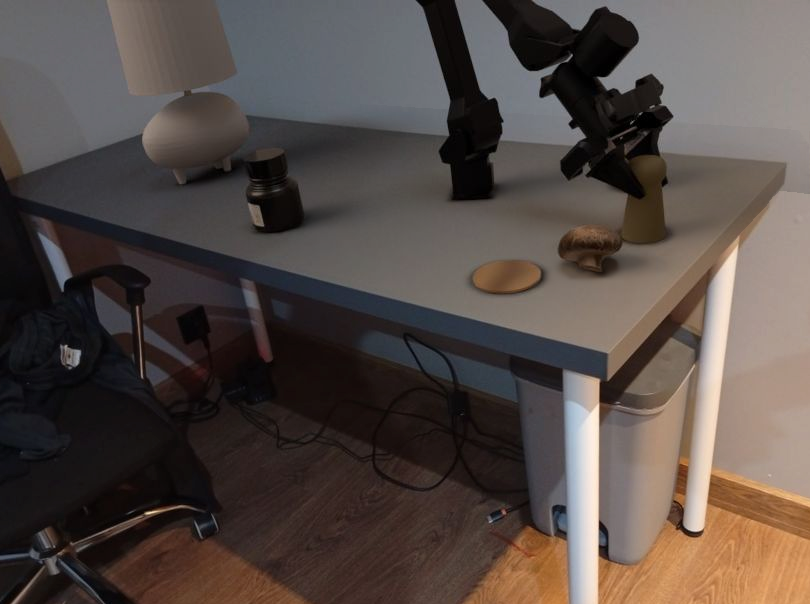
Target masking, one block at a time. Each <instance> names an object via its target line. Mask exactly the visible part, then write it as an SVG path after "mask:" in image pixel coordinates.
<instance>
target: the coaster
mask: <svg viewBox="0 0 810 604" xmlns="http://www.w3.org/2000/svg"><path fill="white" fill-rule="evenodd" d="M541 279H542V271H541V269H540V268H539V267H538V266H537V265H536V264H534V263H532V262H529V261H525V260H514V259H512V260H511V259H509V260H507V259H505V260H499V261H493V262H490V263H488V264H485V265H483V266H480V267H479V268H478V269H477V270H476V271H475V272H474V273H473V275H472V282H473V285H474V287H476V288H477V289H479V290H480V291H482V292H486V293H490V294H499V295H501V294H502V295H507V294H514V293H520V292H524V291H527V290H529V289H531V288H533V287H534V286H536V285H537V284H539V282H540V281H541Z"/></svg>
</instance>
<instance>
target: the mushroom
mask: <svg viewBox="0 0 810 604" xmlns="http://www.w3.org/2000/svg"><path fill="white" fill-rule="evenodd" d="M622 247H623V238H622V236H621V235H619V233H617V232H616V231H615V230H613V229H611V228H608V227H605V226H600V225H591V224H587V225H586V224H585V225H579V226H577V227H574V228H572V229H570V230H569V231H568V232H567V233H565V234H564V235H563V236H562V237H561V239H560V240H559V243H558V247H557V253H558V256H559V257H560V258H561V259H563V260H566V261H574V262H576V263H577V264H578V267H580V268H582V269H585V270H587V271H592V272H597V273H601V272H603V269H602V263H603V260H604V259H606V258H607V257H609V256H611V255H614V254H616V253H617V252H619V251H620V250H621V248H622Z"/></svg>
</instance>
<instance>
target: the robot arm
mask: <svg viewBox="0 0 810 604" xmlns="http://www.w3.org/2000/svg"><path fill="white" fill-rule="evenodd" d="M481 1H482V2H483V3H484V4H485V6H486V7H487V8H488V9H489V10H490V12H492V14H493V15H494V16H495V18H496V19H497V20H498V21H499V23H501V24H502V25H503V27H504V29H505V30H506V32H507V39H508V44H509V46H510V49H511V50H512V52H513V54H514V55H515V57H516V59H517V60H518V62H519V63H520V64H521V66H522V67H523V69H525V71H528V72H540V71H543V70H545V69H548V68H551V67H553V66H556V67H555V69H554V70H553V71H552V72H551V73H549V74H547V75H545V76H542V77H540V87H539V90H538V98H540V99H544V98H546V97H549V96H552V95H554V96H555V97H556V98H557V100H558V101H559V103H560V104H561V105H562V106H563V108H564V109H565V111H566V112H567V113H568V115H569V116H570V117H571V119H570V121H569V122H568V123H567V124H568V126H569V128H570V130H576V129H577V128H579V130H580V131H581V133H582V134H583V135H584V137H585V138H582V139H580V140H578V142H576V143H575V145H574V146H572V147H571V149H570V150H569V151H568V152H567V153H566V154H565V155H564V156H563V157H562V158H561V159H560V160H559V163H560V164H559V165H560V167H559V168H560V172H561V173H562V175H563V176H564V177H565V179H566V180H567V181H568V182H570V181H571V180H574V179H576V178H579V177H580V176H581V175H582V174H583V173H584V167H586V165H587V164H588V165H587V166H588V168H589V169H590V170H588V171H587V172H586V174H584V176H585V177H586V178H587V179H589V178H592V179H595V180H596V181H600V182H602V183H604V184H606V185H609V186H611V187H613V188H615V189H617V190H619V191H620V192H623V193H625V194H627V195H628V194H629V195H631V196H633V197H635V198H637V199H639V200H640V199H642V198H643V197H645V196H646V193H645V191H644V190H643V188H642V186H641V184H640V182H639V181H638V179H637V178H636V176H635V175H634V173H633V172H632V170H631V169H630V167H629V165H628V164H627V162H626V161H625V158H626V159H627V160H628V161H630V160H631V159H632V158H634V157H637V156H641V155H656V156H659V157H661V153H660V149H659V139H660V135H661V132H663V129H664V127H665V126H666V125H667V124H669V122H671V120H673V118H674V117H675V116H674V114H673V113H672V112H671V111H670V109H669V108H668V106H667V105H663V102H662V99H661V97H662V95H663V93H664V89H665V86H664V84H663V83H661V82H660V80H659V79H658V78H657V77H656V76H655V75H654V74H653V73H649V74H647V75H644V76H643V77H641V78H638V79H636V80H635V81H634V82H635V83H634V86H635V87H634V88H631V89H630V90H628V91H625V92H623V93H621V91H620V90H619V89H618V88H615V87H612V88H610V89H607V88H606V86H605V85H604V84H603V82H602V81H601V80H600V79H599V78H607V77H610V75H611V74H612V73H613V72H614V71H615V70H616V69H617V68H618V66H619V65H620V64H621V63H622V62H623V61H624V60H625V59H626V57H627V56H628V55H629V54H630V53H631V52H632V51H633V50H634V48H635V47H636V46H637V45H638V44H639V41H640V36H639V31H638V29H637V27H636V25H635V24H634V23H633V21H631V20H628V19H627V18H625V17H624V16H622V15H621V14H619V13H616V12H611V10H610V9H609V8H608V6H606V5H604V6H601V7H598V8H595V9H594V11H593V12H592V13H591V14H590V16H589V18H588V21H587V22H586V23H585V24H584V26H583V27H582V29H577V28H573V27H572V26H571V25H570V23H569V22H567V21H566V20H565V19H563V18H562V17H561V16H559V15H558V14H557V13H555V11H554V10H551V9H548V8H547V7H544V6H542V5H539V4H537V3H536V2H535V1H533V0H481ZM415 2H416V3H417V4H418V5H419V6H420V7H421V8H422V10H423V13H424V16H425V19H426V23H427V26H428V29H429V33H430V37H431V40H432V44H433V47H434V49H435V53H436V56H437V61H438V63H439V66H440V70H441V74H442V78H443V80H444V83H445V88H446V91H447V94H448V97H449V106H448V111H447V117H446V125H447V131H448V137H447V138H446V139H445V141H444V142H443V144H442V145H441V146H440V148H439V149H438V154H439V158H440V160H441V163H443V164H445V165H449V166H450V167H449V168H450V178H451V185H452V186H451V188H452V193H451V195H450V198H451V200H453V201H454V200H474V199H477V200H478V199H489V198H490V196H491V193H492V191H493V190H494V189H495V185H496V184H495V170H494V169H495V168H494V163H493V162H491V160H490V155H492V154H494V153H496V152H497V151H498V147H499V142H500V139H501V137H502V136H503V134H504V133H503V132H504V129H503V123H505V120H504V119H503V117H502V115H501V112H500V107H499V101H498V100H497V98H496V97H492V98H488V97H487V96H486V95H485V94H484V93H483V92H482V91H481V88H480V85H479V81H478V78H477V75H476V70H475V68H474V63H473V60H472V57H471V53H470V49H469V46H468V42H467V39H466V36H465V31H464V28H463V24H462V21H461V17H460V14H459V10H458V7H457V3H456V0H415ZM571 55H572V56H571ZM622 137H623V138H622ZM621 138H622V139H621ZM624 145H625V146H626V147H627V149H628V150H629V152H628V153H627V154H626V155H625V147H624ZM667 184H669V180H668V177H667V175H666V176H665V178H664V179H663V180H662V188H664V187H666V185H667Z"/></svg>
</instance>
